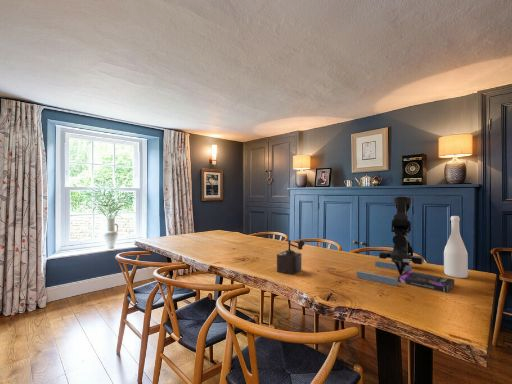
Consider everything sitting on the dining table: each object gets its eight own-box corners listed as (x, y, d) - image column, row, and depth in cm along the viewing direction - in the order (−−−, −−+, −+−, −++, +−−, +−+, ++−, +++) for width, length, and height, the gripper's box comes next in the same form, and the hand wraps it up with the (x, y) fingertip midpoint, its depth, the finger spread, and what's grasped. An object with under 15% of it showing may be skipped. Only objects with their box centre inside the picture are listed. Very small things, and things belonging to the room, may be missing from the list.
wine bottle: (446, 271, 139) (445, 215, 139) (469, 275, 132) (468, 216, 132) (442, 275, 132) (441, 216, 132) (466, 280, 125) (465, 217, 126)
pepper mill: (275, 272, 139) (275, 238, 139) (284, 267, 148) (284, 235, 148) (303, 277, 130) (302, 241, 130) (311, 271, 140) (310, 237, 140)
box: (397, 284, 123) (447, 294, 109) (397, 276, 123) (447, 286, 109) (407, 277, 132) (455, 286, 118) (407, 270, 132) (454, 278, 118)
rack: (375, 265, 150) (375, 260, 150) (411, 272, 138) (411, 266, 138) (357, 277, 129) (356, 271, 129) (397, 286, 117) (397, 279, 117)
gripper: (375, 243, 129) (375, 274, 129) (419, 248, 117) (419, 283, 117) (382, 240, 138) (382, 269, 137) (424, 244, 125) (424, 277, 125)
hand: (400, 274), depth 129 cm, fingers closed
